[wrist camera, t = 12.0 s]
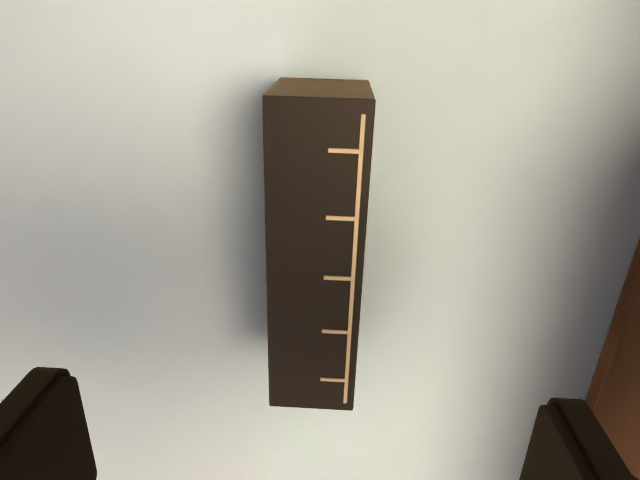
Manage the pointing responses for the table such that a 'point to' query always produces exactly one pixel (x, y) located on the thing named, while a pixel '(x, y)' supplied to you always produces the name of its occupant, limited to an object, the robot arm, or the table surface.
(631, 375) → the cabinet
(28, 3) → the table surface
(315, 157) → the ruler
